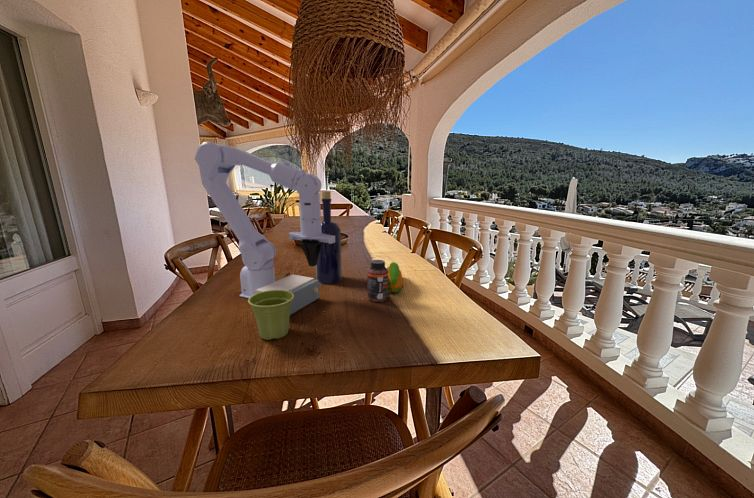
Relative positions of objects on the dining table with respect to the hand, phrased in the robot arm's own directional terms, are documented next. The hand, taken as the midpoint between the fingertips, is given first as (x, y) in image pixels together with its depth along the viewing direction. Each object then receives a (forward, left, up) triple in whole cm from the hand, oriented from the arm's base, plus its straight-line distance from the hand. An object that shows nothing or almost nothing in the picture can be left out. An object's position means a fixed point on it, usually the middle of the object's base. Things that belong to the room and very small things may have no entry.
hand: (312, 265), depth 85 cm
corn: (+18, +17, -10) cm, 27 cm away
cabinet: (-3, -8, -9) cm, 13 cm away
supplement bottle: (+18, +6, -10) cm, 21 cm away
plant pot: (+5, -22, -10) cm, 24 cm away
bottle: (-4, +14, -10) cm, 17 cm away
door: (+2, -9, -9) cm, 13 cm away
